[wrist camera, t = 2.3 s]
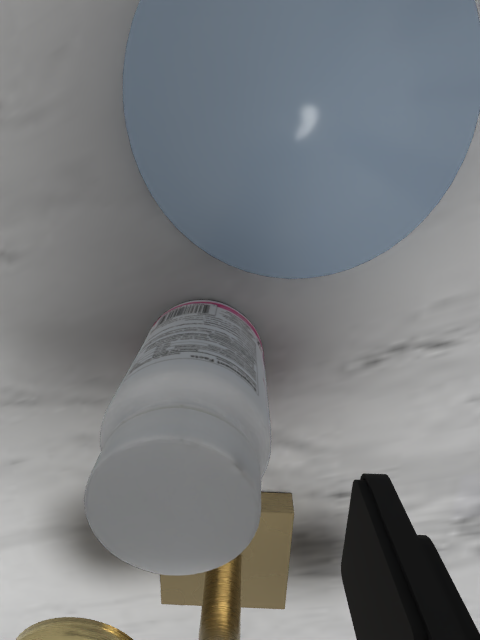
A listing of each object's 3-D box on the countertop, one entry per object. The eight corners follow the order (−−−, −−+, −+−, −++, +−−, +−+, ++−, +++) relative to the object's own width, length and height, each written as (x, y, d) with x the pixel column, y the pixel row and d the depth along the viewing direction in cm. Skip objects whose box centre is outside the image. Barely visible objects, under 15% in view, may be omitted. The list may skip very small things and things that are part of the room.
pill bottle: (234, 419, 18) (224, 614, 11) (130, 377, 18) (37, 551, 10) (284, 326, 17) (316, 473, 9) (172, 277, 16) (101, 388, 8)
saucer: (120, -110, 12) (109, -133, 11) (505, -99, 12) (527, -121, 11) (139, 266, 16) (133, 273, 15) (432, 276, 16) (443, 284, 15)
